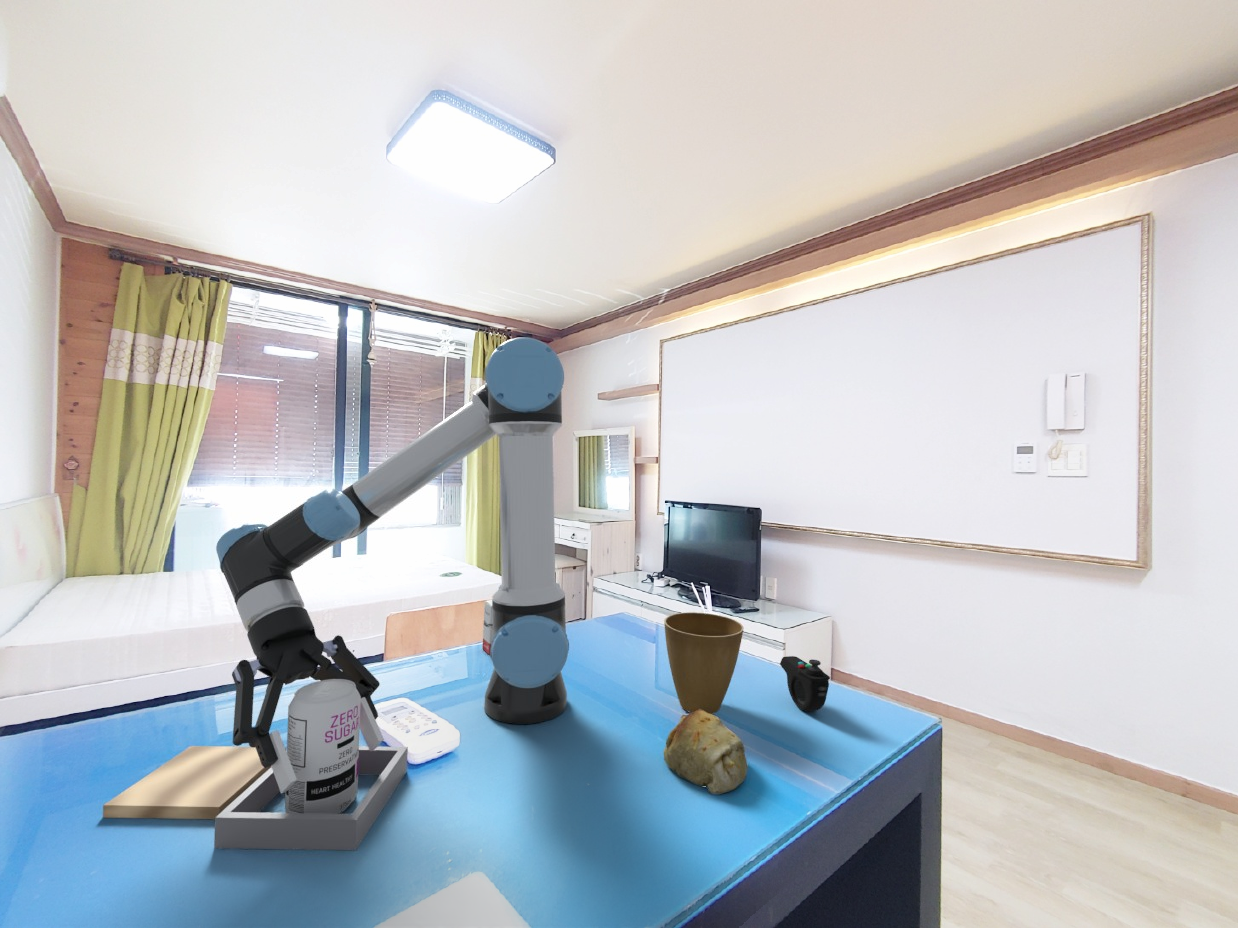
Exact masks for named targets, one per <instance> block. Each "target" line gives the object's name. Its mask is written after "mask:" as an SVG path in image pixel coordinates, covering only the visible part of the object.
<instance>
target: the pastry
mask: <svg viewBox="0 0 1238 928" xmlns="http://www.w3.org/2000/svg"><path fill="white" fill-rule="evenodd" d="M663 760H664V761H665V764H666V766H667V767H668V769H670V770H672V771H673V772H675V774H677V775H678V776H679V777H680V778H681V779H684V780H687V781H688V782H691V784H694V785H696V784H697V786H698V785H700V786H699V787H702V786H706V787H702V788H703V789H704V788H705V789H707V791H708V790H709V792H708V793H711V794H712V795H714V794H719V795H722V794H725V793H728V792H732V791H733V790H735V789H737V787H738V786H740V784H742V783H743V782H744V781H745V780H746V778H747V771H748V761H747V757H746V752H745V746H744V743H743V741H742V740H741V739H740V737H739V736H738V735H737V734H736V733H735V732H733V731H732V730H730V729H729V728H728V727H727V726H725V724H724V723H723V722H722V721H721V718H719V717H718V716H717V715H714V714H709V713H707V712H705V711H703V710H701V709H699V710H698V711H695V712H691V713H690V712H688V714H686V715H685V714H682V715H681V716H680V720H679V722H678V723H677V724H676V726H675V727H674V728H673V729H672V730H671V731H670V732H669V733H668V736H667V738H666V741H665V747H664V748H663Z"/></svg>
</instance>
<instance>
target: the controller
mask: <svg viewBox="0 0 1238 928" xmlns="http://www.w3.org/2000/svg"><path fill="white" fill-rule="evenodd" d="M779 665H780V667H781V668H782V670H783V671H784V672H785V674H786V679H787V680H786V681H787V689H788V691H789V696H790V697H791V699H792V701H793V703H794V704H795V705H796V707H798V708H799V709H801V710H802V711H804V712H815V711H816V712H817V711H818V710H819V711H820V710H821V708H823V707H824V705H825V702H826V700H827V696H828V691H829V686H830V683H829V681H830V679H831V677H830V676H829V675H828V674H827V673H825V672H824V671H823V669H821V667H820V665H821V661H820V660H817V659H809V660H808V663H807V662H806V661H804V660H803V659H802V658H799V657H797V656H794V655H791V656H790V655H789V656H782V658H781V660H780V662H779Z"/></svg>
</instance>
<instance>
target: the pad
mask: <svg viewBox="0 0 1238 928" xmlns="http://www.w3.org/2000/svg"><path fill="white" fill-rule="evenodd" d="M285 750H286V751H287V747H285ZM270 768H271V766H269V767H266V768H264V767H263V766H262V764H261V761H260V759H259V756H258V753H257V750H256V747H250V746H225V745H223V746H222V745H221V746H218V745H217V746H216V745H215V746H212V745H211V746H210V745H209V746H208V745H190V746H188V747H186V748H185V749H184V750H183V751H181V752H180V753H179V754H177V755H175V756H174V757H171V759H169V760H168V761H167V762H165V763H163V764H162V765H160V766H159V767H157V768H156V769H155V770H152V772H150V773H148V775H145V776H144V777H143V778H141V779H140V780H138V781H136V782H135V783H134V784H132V785H131V786H129V787H128V788H126V789H125V790H123V791H122V792H121V793H119V794H118V795H115V797H113V798H111V799H110V800H109V801H107V802H106V803H105V804H103V805H102V818H108V819H109V818H112V819H113V818H114V819H116V818H118V819H122V818H123V819H124V818H125V819H178V820H179V819H183V820H184V819H185V820H187V819H188V820H190V819H191V820H197V819H198V820H215V817H216V816H218V815H219V814H220V813H221V812H222V811H223V810H224V809H225V808H226V807H228V806H229V805H230V804H231V803H232V802H233V801H234V800H235V799H236V798H238V797H239V796H240V795H241V794H242V793H243V792H244V791H245V790H246V789H247V788H249V787H250V786H251V785H252V784H253V783H254V782H255V781H256V780H257V779H259V778H260V777H261V776H262V775H263V774H264V773H265V772H266V771H267V770H269V769H270Z"/></svg>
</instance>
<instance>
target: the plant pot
mask: <svg viewBox="0 0 1238 928" xmlns="http://www.w3.org/2000/svg"><path fill="white" fill-rule="evenodd" d="M663 621H664V623H663V624H664V633H665V644H666V651H667V656H668V657H667V658H668V663H669V667H670V668H669V669H670V672H671V677H672V680H673V684H674V688H675V693H676V695H677V698H678V702H679V704H680V707H681V708H682V709H683V710H684V711H685V712H688V713H691V712H695V711H698V710H699V709H701V710H703V711H705V712H707V713H709V714H712V715H714V714H716V713H717V712H719V711H720V708H721V706H722V704H723V701H724V699H725V696H726V694H727V692H728V689H729V686H730V683H731V682H732V679H733V675H734V672H735V668H736V666H737V661H738V657H739V653H740V648H741V644H742V640H743V639H742V638H743V633H744V626H743V624H742V623H740V622H739V621H737V620H735V619H733V618H731V617H727V616H723V615H720V614H719V615H718V614H713V613H707V612H695V611H691V612H678V613H673V614H670V615H668V616H666V617H665V618H664V620H663Z"/></svg>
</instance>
